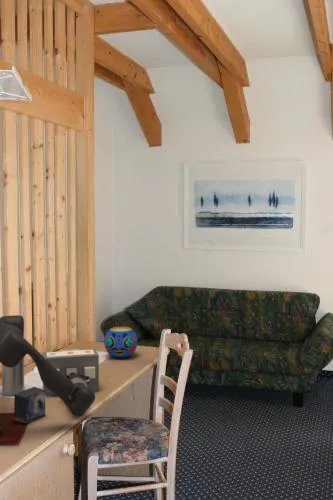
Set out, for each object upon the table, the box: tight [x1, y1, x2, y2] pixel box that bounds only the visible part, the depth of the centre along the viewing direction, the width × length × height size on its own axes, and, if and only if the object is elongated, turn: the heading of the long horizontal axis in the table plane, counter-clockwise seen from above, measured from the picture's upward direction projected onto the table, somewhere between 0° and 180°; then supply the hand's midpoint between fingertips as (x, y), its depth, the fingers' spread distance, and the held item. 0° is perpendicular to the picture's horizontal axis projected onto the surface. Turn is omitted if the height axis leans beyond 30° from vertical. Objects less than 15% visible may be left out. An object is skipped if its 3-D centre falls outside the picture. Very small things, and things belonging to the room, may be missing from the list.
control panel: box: [42, 349, 100, 397], centre depth 246 cm, size 23×10×17 cm, turn 105°
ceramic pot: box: [103, 326, 138, 359], centre depth 300 cm, size 18×18×15 cm
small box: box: [13, 386, 46, 424], centre depth 214 cm, size 11×6×10 cm, turn 148°
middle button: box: [66, 367, 77, 375], centre depth 242 cm, size 4×3×4 cm
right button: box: [84, 366, 95, 378], centre depth 242 cm, size 4×3×4 cm
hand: (72, 374), depth 240 cm, fingers closed
